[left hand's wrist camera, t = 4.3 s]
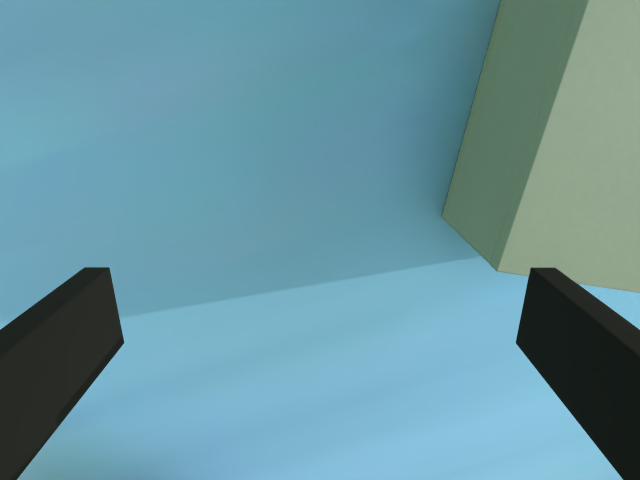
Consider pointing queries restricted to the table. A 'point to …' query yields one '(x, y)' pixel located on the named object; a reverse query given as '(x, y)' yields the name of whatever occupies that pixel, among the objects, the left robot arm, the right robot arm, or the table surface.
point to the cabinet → (555, 144)
